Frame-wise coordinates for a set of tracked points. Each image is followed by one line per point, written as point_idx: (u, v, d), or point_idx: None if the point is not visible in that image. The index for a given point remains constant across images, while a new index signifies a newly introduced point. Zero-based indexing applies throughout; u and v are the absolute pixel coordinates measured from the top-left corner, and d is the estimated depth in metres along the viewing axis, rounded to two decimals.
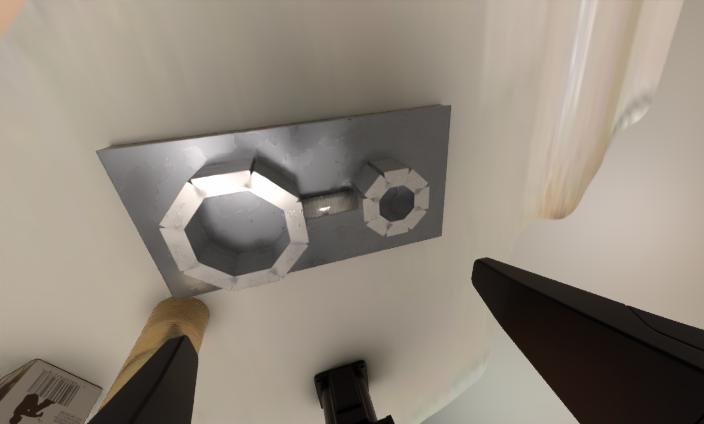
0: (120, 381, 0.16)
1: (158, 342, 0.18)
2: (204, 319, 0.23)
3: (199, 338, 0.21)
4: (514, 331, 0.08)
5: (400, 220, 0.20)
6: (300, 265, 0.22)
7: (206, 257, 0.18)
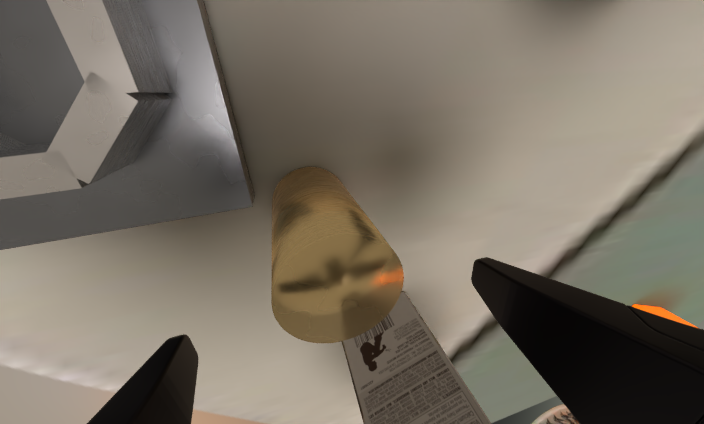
0: None
1: None
2: (307, 173, 0.13)
3: (314, 184, 0.12)
4: (514, 331, 0.08)
5: None
6: None
7: None
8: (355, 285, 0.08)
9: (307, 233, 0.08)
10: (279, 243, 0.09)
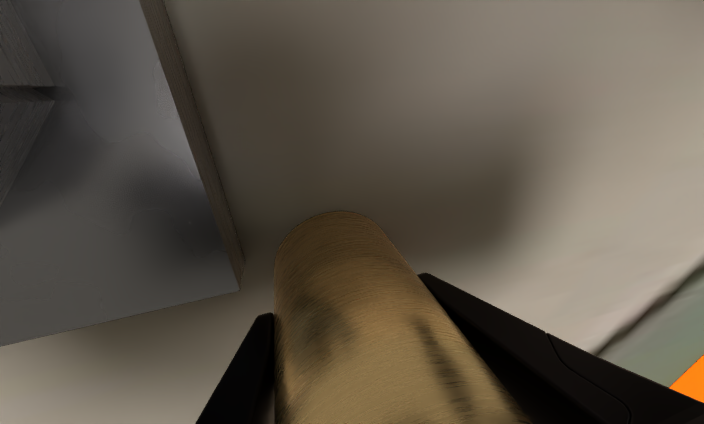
0: None
1: (274, 404, 0.05)
2: (335, 229, 0.08)
3: (356, 266, 0.06)
4: None
5: None
6: None
7: None
8: None
9: None
10: None
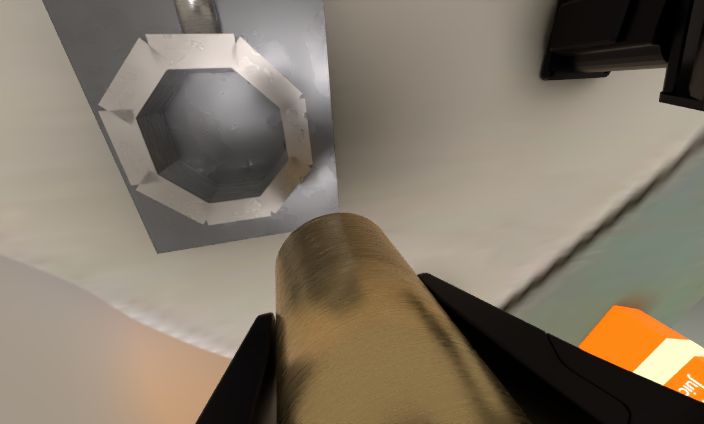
0: None
1: None
2: (336, 231, 0.08)
3: (357, 267, 0.06)
4: None
5: None
6: (319, 66, 0.15)
7: (264, 186, 0.14)
8: None
9: None
10: None
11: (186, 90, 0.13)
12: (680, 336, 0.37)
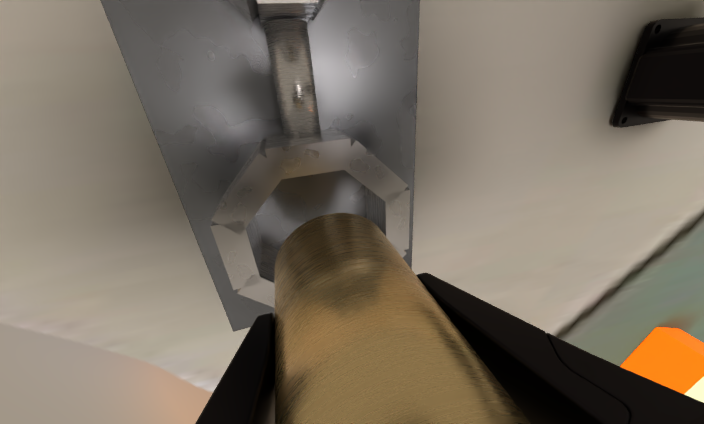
0: None
1: None
2: (335, 231, 0.08)
3: (356, 268, 0.06)
4: None
5: None
6: (406, 140, 0.14)
7: None
8: None
9: None
10: None
11: None
12: None
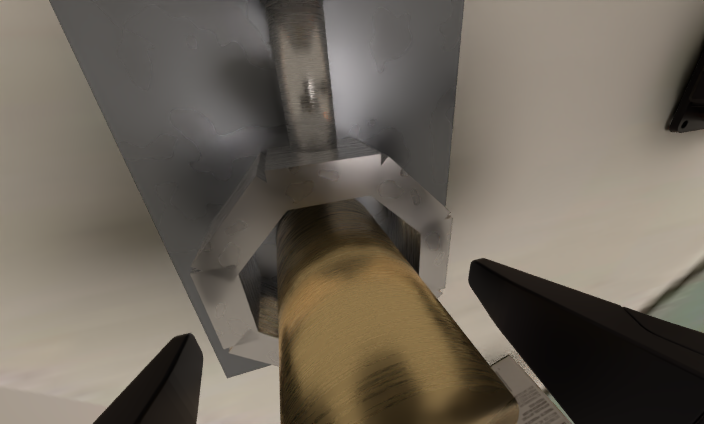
0: None
1: (278, 327, 0.07)
2: (326, 206, 0.09)
3: (341, 230, 0.08)
4: (510, 332, 0.08)
5: None
6: (440, 151, 0.11)
7: None
8: None
9: (352, 370, 0.04)
10: (294, 364, 0.05)
11: None
12: None
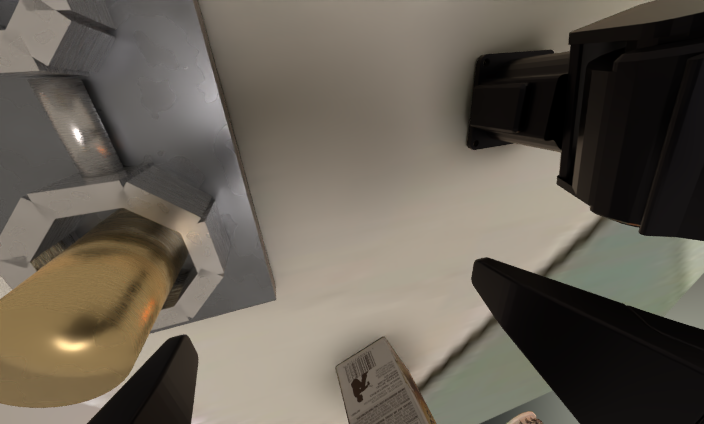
0: None
1: None
2: (121, 214, 0.13)
3: (103, 230, 0.12)
4: (514, 331, 0.08)
5: None
6: (231, 171, 0.15)
7: (181, 291, 0.15)
8: (64, 352, 0.08)
9: None
10: None
11: None
12: None
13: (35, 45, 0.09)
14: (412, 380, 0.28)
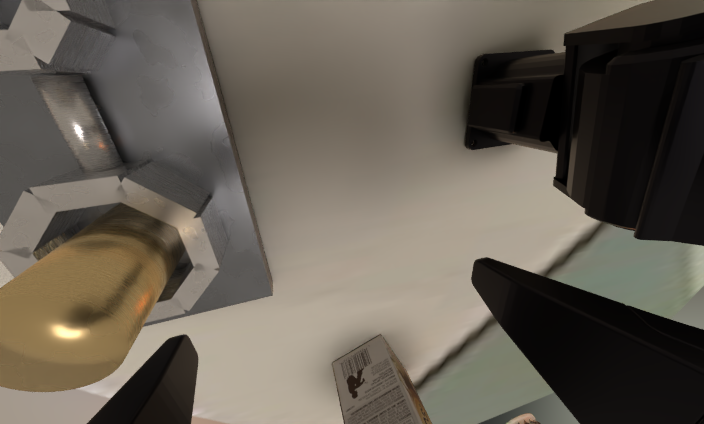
0: None
1: None
2: (121, 208, 0.14)
3: (102, 224, 0.12)
4: (514, 331, 0.08)
5: None
6: (228, 168, 0.15)
7: (178, 285, 0.15)
8: (60, 339, 0.09)
9: None
10: None
11: None
12: None
13: (36, 44, 0.09)
14: (408, 378, 0.28)
